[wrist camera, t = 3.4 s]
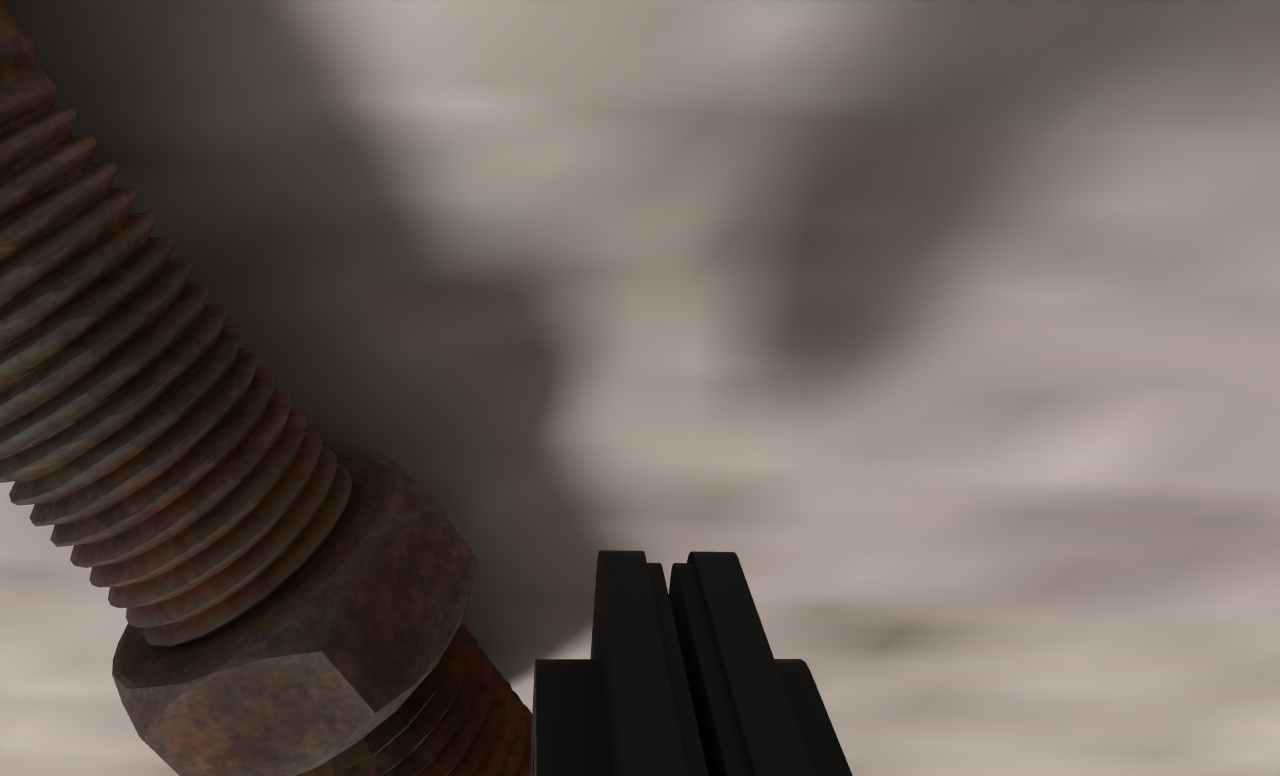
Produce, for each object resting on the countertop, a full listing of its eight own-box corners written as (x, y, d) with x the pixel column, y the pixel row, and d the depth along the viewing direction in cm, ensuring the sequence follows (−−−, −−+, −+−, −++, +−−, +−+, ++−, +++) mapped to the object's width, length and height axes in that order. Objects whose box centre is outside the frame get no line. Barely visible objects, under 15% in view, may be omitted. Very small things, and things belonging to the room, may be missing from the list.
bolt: (451, 661, 19) (-172, -129, 12) (668, 659, 16) (8, -365, 10) (253, 970, 15) (-839, 16, 8) (501, 1040, 12) (-863, -324, 5)
